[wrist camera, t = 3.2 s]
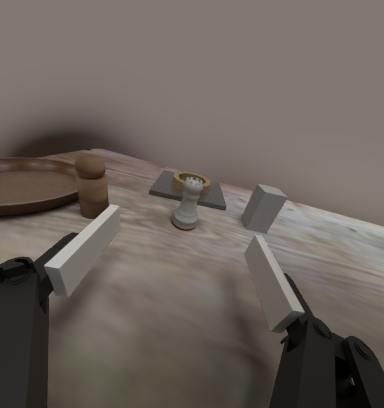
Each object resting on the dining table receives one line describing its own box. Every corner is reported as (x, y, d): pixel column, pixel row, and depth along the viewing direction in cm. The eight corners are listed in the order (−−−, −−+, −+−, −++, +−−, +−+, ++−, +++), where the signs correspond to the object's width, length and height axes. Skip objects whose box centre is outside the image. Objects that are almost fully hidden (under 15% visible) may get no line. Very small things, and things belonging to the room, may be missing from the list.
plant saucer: (95, 174, 35) (93, 161, 33) (91, 218, 22) (89, 200, 21) (-24, 169, 26) (-32, 152, 25) (-144, 238, 13) (-177, 210, 12)
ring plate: (217, 185, 46) (220, 176, 44) (225, 210, 33) (229, 198, 31) (164, 173, 45) (165, 163, 43) (149, 194, 32) (150, 181, 30)
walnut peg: (108, 205, 25) (104, 152, 21) (109, 217, 23) (106, 159, 18) (82, 206, 23) (72, 149, 19) (80, 220, 21) (69, 157, 17)
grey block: (258, 221, 32) (276, 188, 28) (266, 233, 28) (287, 197, 25) (241, 217, 32) (257, 183, 28) (246, 229, 28) (265, 192, 24)
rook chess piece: (201, 224, 26) (214, 183, 23) (186, 235, 23) (198, 189, 19) (182, 212, 28) (191, 173, 25) (166, 221, 25) (173, 176, 21)
